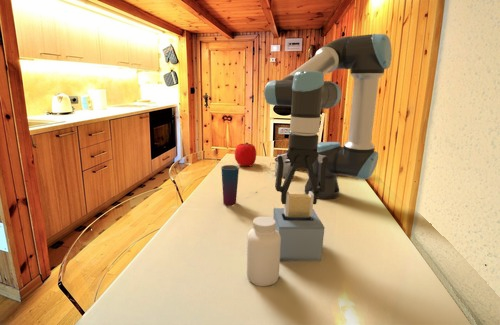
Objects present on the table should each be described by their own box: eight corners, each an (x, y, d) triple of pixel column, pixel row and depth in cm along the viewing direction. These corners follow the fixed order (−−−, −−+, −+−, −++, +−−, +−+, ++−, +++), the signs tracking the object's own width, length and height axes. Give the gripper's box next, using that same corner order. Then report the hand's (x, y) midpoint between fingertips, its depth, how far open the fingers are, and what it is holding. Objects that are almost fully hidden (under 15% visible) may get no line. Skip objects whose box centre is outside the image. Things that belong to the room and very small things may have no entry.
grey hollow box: (310, 238, 89) (313, 208, 87) (321, 260, 78) (324, 227, 75) (272, 237, 89) (273, 208, 86) (277, 260, 77) (279, 226, 75)
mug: (291, 173, 156) (293, 157, 154) (291, 179, 147) (292, 162, 145) (270, 172, 158) (271, 156, 156) (268, 177, 149) (268, 160, 147)
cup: (235, 207, 110) (236, 170, 106) (218, 205, 112) (219, 168, 108) (239, 201, 117) (240, 165, 113) (223, 199, 118) (224, 164, 114)
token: (307, 213, 82) (308, 194, 80) (309, 217, 79) (311, 197, 78) (286, 213, 81) (287, 193, 80) (287, 217, 79) (289, 196, 78)
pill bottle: (245, 267, 74) (246, 213, 70) (275, 266, 75) (278, 213, 71) (247, 287, 66) (249, 229, 62) (281, 286, 67) (285, 228, 63)
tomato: (248, 169, 162) (248, 146, 158) (228, 165, 169) (229, 143, 165) (262, 164, 174) (263, 142, 171) (243, 160, 181) (244, 139, 178)
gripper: (335, 131, 79) (326, 209, 84) (266, 130, 78) (263, 208, 84) (344, 136, 71) (335, 220, 77) (269, 134, 70) (265, 220, 76)
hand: (297, 214), depth 80 cm, fingers closed on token, 6 cm apart
